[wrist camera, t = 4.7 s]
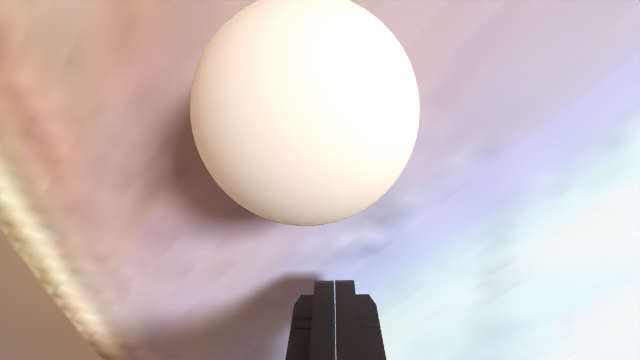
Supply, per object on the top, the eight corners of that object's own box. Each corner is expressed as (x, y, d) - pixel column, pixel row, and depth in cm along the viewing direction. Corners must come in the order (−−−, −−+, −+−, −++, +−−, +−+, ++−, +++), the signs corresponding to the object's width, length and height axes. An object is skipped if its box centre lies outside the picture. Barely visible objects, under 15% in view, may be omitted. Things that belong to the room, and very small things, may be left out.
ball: (519, 170, 6) (417, 112, 11) (333, -157, 4) (319, -36, 9) (290, 316, 7) (298, 201, 12) (66, 129, 5) (190, 88, 10)
